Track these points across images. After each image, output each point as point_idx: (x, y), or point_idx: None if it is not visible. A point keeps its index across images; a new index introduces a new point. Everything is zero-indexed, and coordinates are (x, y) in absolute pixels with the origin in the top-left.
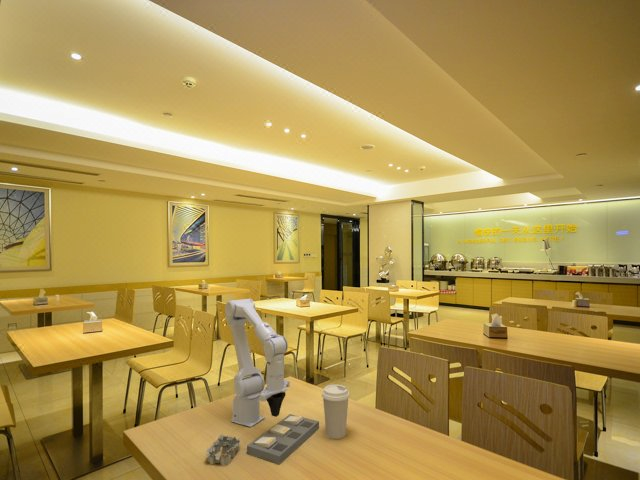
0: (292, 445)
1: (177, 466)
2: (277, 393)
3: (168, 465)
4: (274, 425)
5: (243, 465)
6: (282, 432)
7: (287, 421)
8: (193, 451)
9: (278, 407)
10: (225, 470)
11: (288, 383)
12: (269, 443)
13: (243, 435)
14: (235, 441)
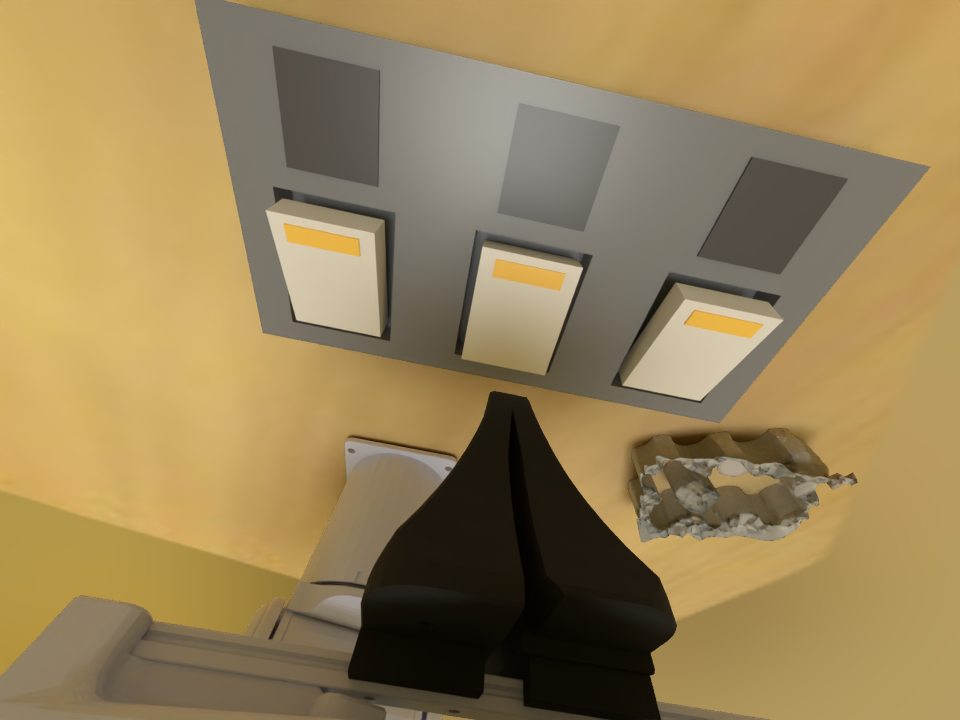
0: (724, 120)
1: (777, 549)
2: (482, 656)
3: (766, 566)
4: (453, 370)
5: (821, 369)
6: (564, 282)
7: (380, 309)
8: (676, 545)
9: (528, 453)
10: (850, 422)
11: (36, 714)
12: (761, 311)
13: None
14: (639, 473)
